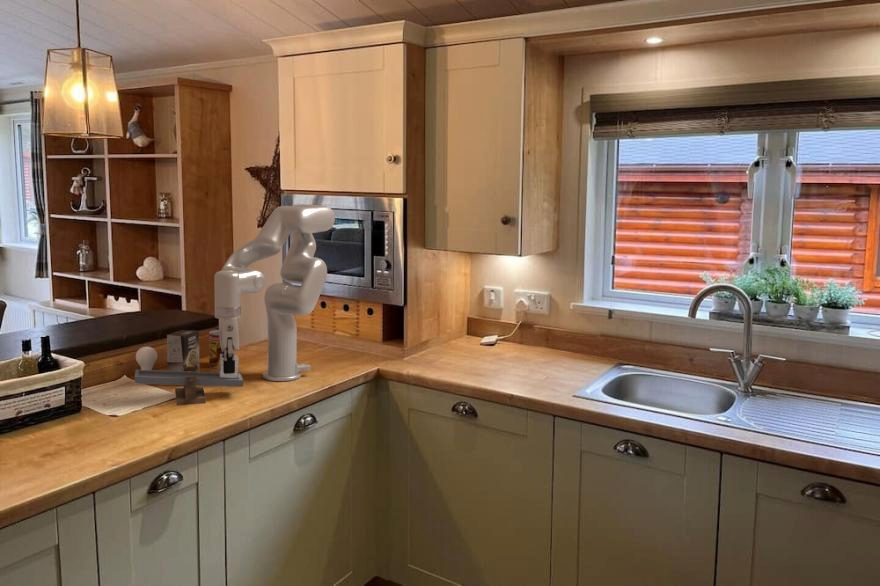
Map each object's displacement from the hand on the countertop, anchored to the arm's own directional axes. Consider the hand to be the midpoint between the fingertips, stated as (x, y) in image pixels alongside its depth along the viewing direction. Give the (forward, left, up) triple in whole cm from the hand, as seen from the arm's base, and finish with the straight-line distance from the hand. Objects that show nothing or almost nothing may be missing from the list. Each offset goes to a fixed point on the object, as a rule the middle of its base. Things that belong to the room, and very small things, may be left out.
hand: (228, 370), depth 214 cm
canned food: (-1, -36, -8) cm, 37 cm away
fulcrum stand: (+11, 0, -8) cm, 14 cm away
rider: (0, 0, -3) cm, 3 cm away
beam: (+11, 0, -3) cm, 12 cm away
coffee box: (+12, -19, -8) cm, 24 cm away
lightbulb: (+23, -23, -8) cm, 34 cm away
